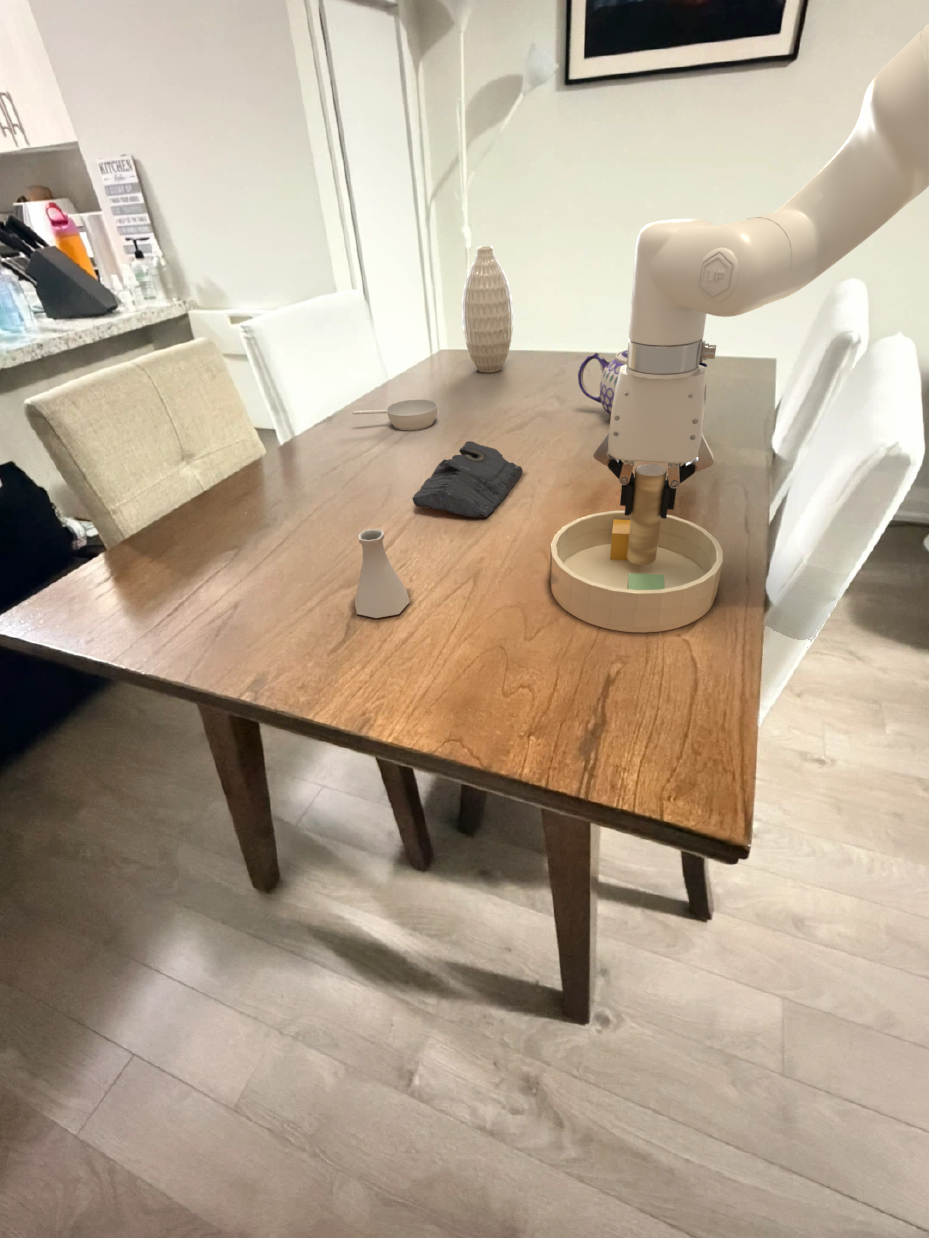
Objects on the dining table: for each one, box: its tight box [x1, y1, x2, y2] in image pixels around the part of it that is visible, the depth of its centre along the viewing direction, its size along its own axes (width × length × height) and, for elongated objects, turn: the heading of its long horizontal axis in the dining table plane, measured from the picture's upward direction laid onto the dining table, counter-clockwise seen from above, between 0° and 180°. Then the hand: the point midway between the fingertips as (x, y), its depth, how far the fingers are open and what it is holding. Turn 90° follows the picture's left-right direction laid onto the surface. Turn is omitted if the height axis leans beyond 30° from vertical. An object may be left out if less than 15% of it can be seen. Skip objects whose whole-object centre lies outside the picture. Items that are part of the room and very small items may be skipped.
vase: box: [461, 245, 514, 374], centre depth 161 cm, size 13×13×28 cm
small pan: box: [351, 398, 438, 431], centre depth 137 cm, size 11×18×4 cm, turn 97°
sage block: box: [627, 573, 665, 590], centre depth 75 cm, size 4×4×4 cm
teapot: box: [577, 349, 708, 417], centre depth 128 cm, size 25×15×15 cm, turn 61°
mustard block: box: [610, 519, 630, 561], centre depth 86 cm, size 4×4×4 cm
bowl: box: [549, 509, 724, 634], centre depth 81 cm, size 20×20×6 cm
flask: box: [354, 528, 411, 619], centre depth 80 cm, size 7×7×10 cm
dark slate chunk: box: [412, 440, 524, 519], centre depth 108 cm, size 15×22×5 cm
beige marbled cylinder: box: [627, 463, 668, 565], centre depth 79 cm, size 4×4×12 cm
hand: (646, 511), depth 79 cm, fingers closed on beige marbled cylinder, 3 cm apart
